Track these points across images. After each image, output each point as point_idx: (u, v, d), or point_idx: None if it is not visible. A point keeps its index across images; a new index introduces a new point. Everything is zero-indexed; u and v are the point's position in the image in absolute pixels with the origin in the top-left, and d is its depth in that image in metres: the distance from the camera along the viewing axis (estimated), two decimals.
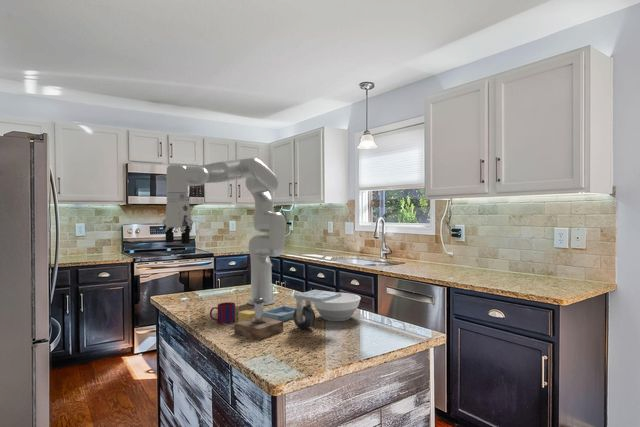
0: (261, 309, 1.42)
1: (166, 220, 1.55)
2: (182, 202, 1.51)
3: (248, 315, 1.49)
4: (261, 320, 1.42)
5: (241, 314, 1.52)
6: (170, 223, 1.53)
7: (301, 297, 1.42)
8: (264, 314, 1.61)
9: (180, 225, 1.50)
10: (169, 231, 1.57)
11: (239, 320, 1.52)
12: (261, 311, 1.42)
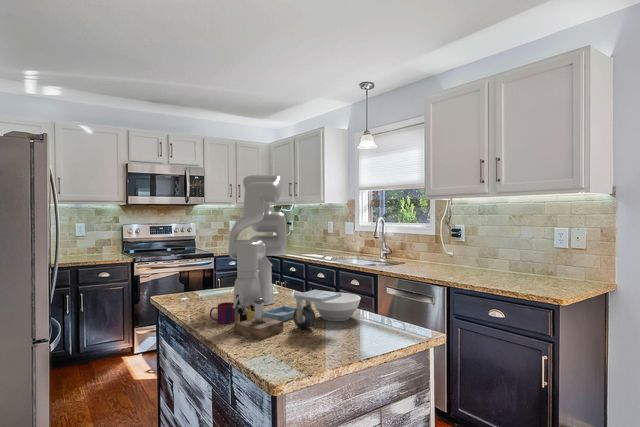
0: (261, 309, 1.42)
1: (244, 299, 1.48)
2: None
3: (248, 315, 1.49)
4: (261, 320, 1.42)
5: None
6: (249, 301, 1.50)
7: (301, 297, 1.42)
8: (264, 314, 1.61)
9: None
10: None
11: (239, 319, 1.52)
12: (261, 311, 1.42)
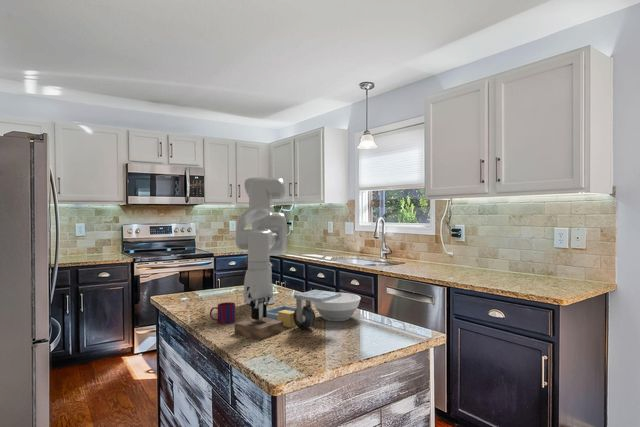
0: (261, 309, 1.42)
1: (255, 292, 1.39)
2: None
3: (288, 315, 1.50)
4: (261, 320, 1.42)
5: (281, 314, 1.52)
6: (260, 294, 1.41)
7: (301, 297, 1.42)
8: None
9: (271, 293, 1.46)
10: None
11: None
12: (261, 311, 1.42)
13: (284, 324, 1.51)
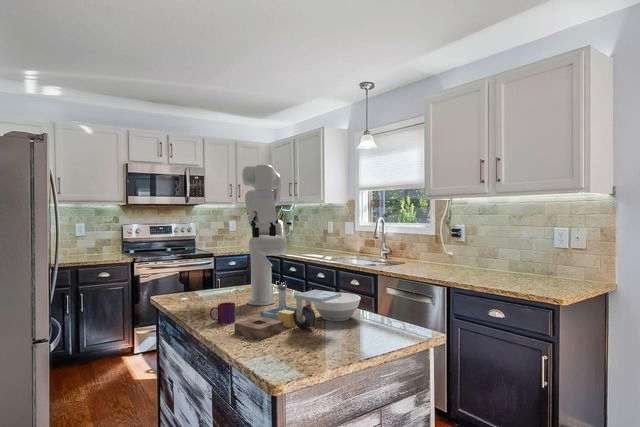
0: (284, 295, 1.64)
1: (261, 215, 1.62)
2: None
3: (288, 315, 1.50)
4: (284, 304, 1.64)
5: (281, 314, 1.52)
6: (266, 218, 1.64)
7: (301, 297, 1.42)
8: (264, 314, 1.61)
9: (274, 220, 1.69)
10: None
11: None
12: (284, 296, 1.64)
13: (284, 324, 1.51)
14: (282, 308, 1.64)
